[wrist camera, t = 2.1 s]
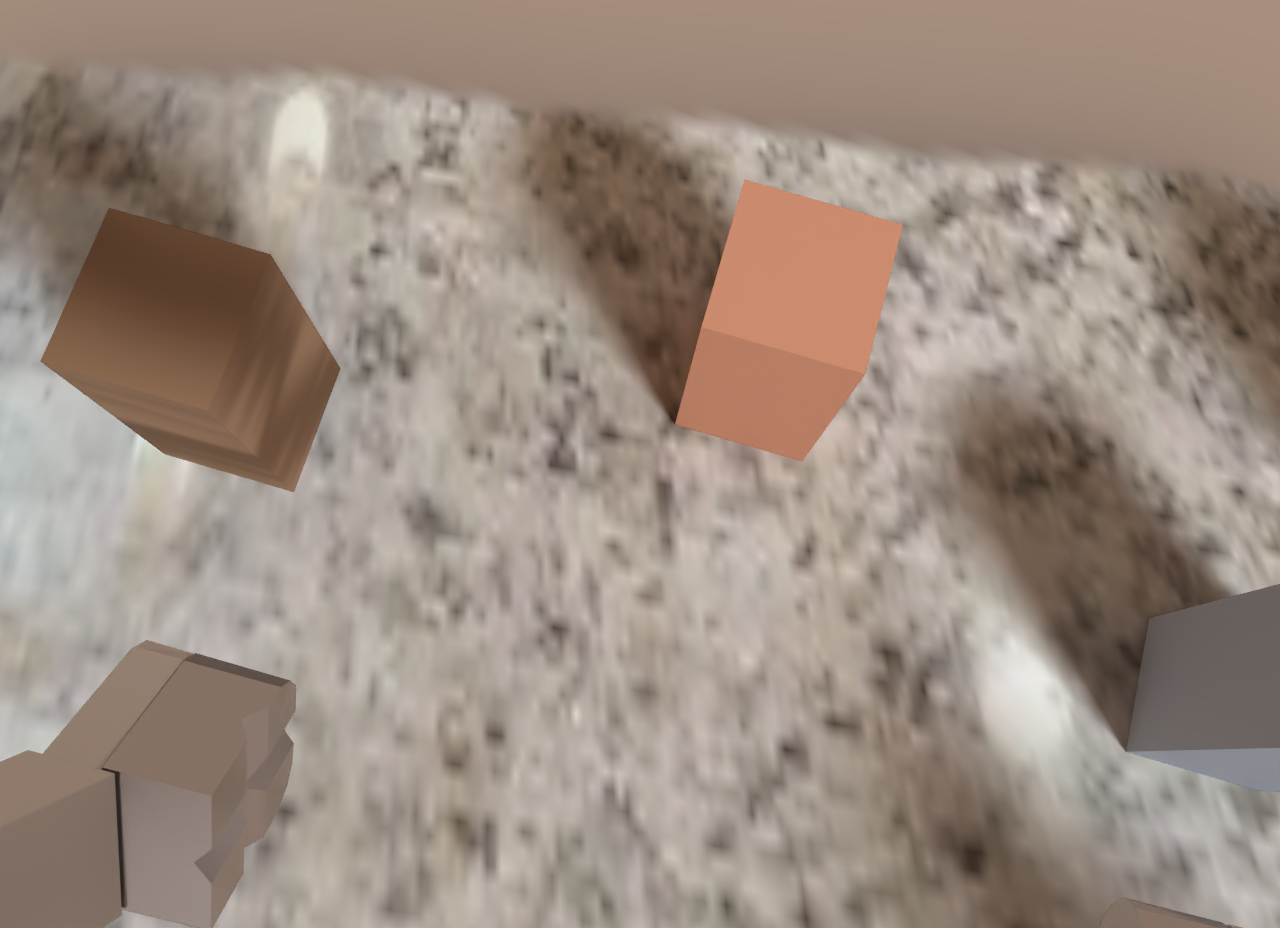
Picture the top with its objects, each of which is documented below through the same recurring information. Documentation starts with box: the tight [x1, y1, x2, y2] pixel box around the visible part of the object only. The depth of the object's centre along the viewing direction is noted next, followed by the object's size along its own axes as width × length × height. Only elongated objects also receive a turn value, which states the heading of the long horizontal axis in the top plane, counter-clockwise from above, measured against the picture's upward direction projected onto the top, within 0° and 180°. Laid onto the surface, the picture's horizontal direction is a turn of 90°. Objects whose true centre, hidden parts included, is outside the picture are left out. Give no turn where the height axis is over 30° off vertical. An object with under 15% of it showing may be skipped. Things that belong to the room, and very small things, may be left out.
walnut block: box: [41, 208, 340, 492], centre depth 34 cm, size 4×4×9 cm
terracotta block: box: [675, 180, 903, 461], centre depth 35 cm, size 4×4×9 cm
